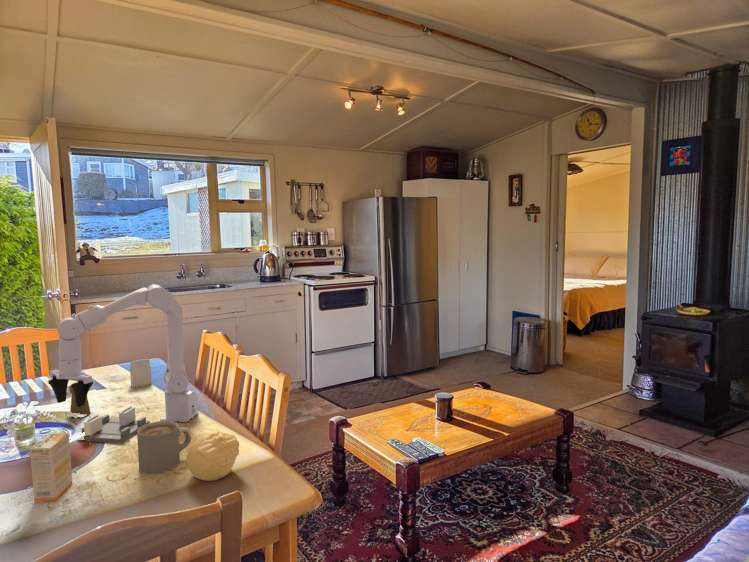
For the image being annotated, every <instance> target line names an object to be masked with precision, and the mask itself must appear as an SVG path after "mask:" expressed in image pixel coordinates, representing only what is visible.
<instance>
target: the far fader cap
mask: <svg viewBox="0 0 749 562" xmlns="http://www.w3.org/2000/svg"><path fill="white" fill-rule="evenodd" d="M118 419H119V425H120V426H126V425H128V424H129V423H131V422H133V421H134V420H137V419H136V407H134V406H129V407H127V408H125V409H124V410H121V411H120V412H118Z"/></svg>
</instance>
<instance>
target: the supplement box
mask: <svg viewBox="0 0 749 562" xmlns="http://www.w3.org/2000/svg"><path fill="white" fill-rule="evenodd" d="M29 456H30V457H29V458H30V468H31V479H32V489H33V498H34V502H35V503H39V502H38V501H42V502H41V503H43V502H44V501H49V502H56V501H57V500H58V499H59V498H60V497H61V496H62V494H63V493H64V492H66V490H67V489H68V488H69V487H70V486H71V485H72V484H73V474H72V473H73V472H72V460H71V449H70V434H69V432H59V433H58V432H57V433H56V432H52V433H48V434H47V435H46V436H44V437H42V438H41V439H40V440H39V441H37V442H36V443H35V444H34V445H32V446H31V447H30V448H29ZM36 501H37V502H36ZM44 503H45V502H44Z"/></svg>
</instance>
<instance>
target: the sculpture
mask: <svg viewBox="0 0 749 562" xmlns="http://www.w3.org/2000/svg"><path fill="white" fill-rule="evenodd" d="M239 447H240V442H239V440H238V438H237V437H236V436H235V435H234V434H232V433H226V432H223V431H222V432H221V431H220V430H217V431H216V432H211V433H206V434H203V435H201V436H199V437H198V438H196V439H195V440H194V441H193V442H192V443H191V445H190V446H189V449H188V451H187V455H186V465H187V467H188V471H189V472H190V474H191V475H192V476H193V477H195V478H196V479H199V480H201V481H205V482H211V481H217V480H221V479H222V478H224V477H225V476H227V475H229V474H230V472H231V471H232V468H233V466H234V464H235V462H236V460H237V457H238V456H239V453H240V448H239Z"/></svg>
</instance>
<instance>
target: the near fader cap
mask: <svg viewBox="0 0 749 562" xmlns="http://www.w3.org/2000/svg"><path fill="white" fill-rule="evenodd" d="M102 417H103V416H102V415H99V414H95V415H94V416H92V417H91V418H89V419H87V420H84V421H83V427H84V431H85V435H93V434H94V433H96V432H98V431H99V430H101V429H103V428H102Z"/></svg>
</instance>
